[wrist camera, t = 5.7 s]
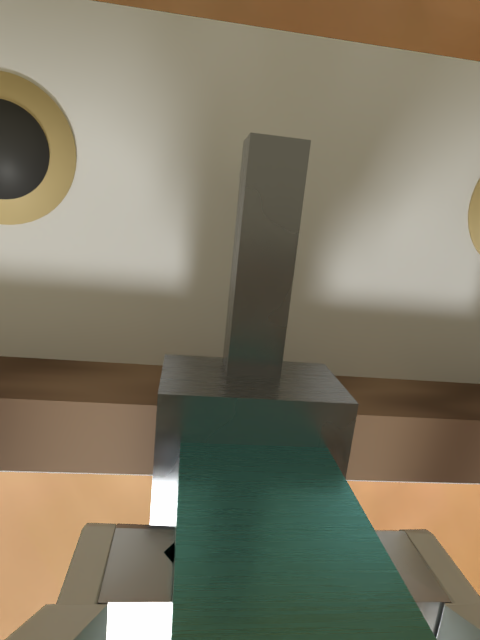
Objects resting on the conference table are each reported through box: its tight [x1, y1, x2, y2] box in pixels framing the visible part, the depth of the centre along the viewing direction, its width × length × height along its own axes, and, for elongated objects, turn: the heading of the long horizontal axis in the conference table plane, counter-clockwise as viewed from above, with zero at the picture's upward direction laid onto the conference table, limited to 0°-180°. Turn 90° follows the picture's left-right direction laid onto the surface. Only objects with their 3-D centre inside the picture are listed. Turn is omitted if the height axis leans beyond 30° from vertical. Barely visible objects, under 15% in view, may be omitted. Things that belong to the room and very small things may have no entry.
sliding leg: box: [150, 132, 437, 640], centre depth 9 cm, size 4×10×10 cm, turn 174°
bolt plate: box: [0, 0, 480, 484], centre depth 14 cm, size 30×14×2 cm, turn 84°
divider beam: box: [0, 356, 480, 484], centre depth 11 cm, size 28×10×7 cm, turn 84°
